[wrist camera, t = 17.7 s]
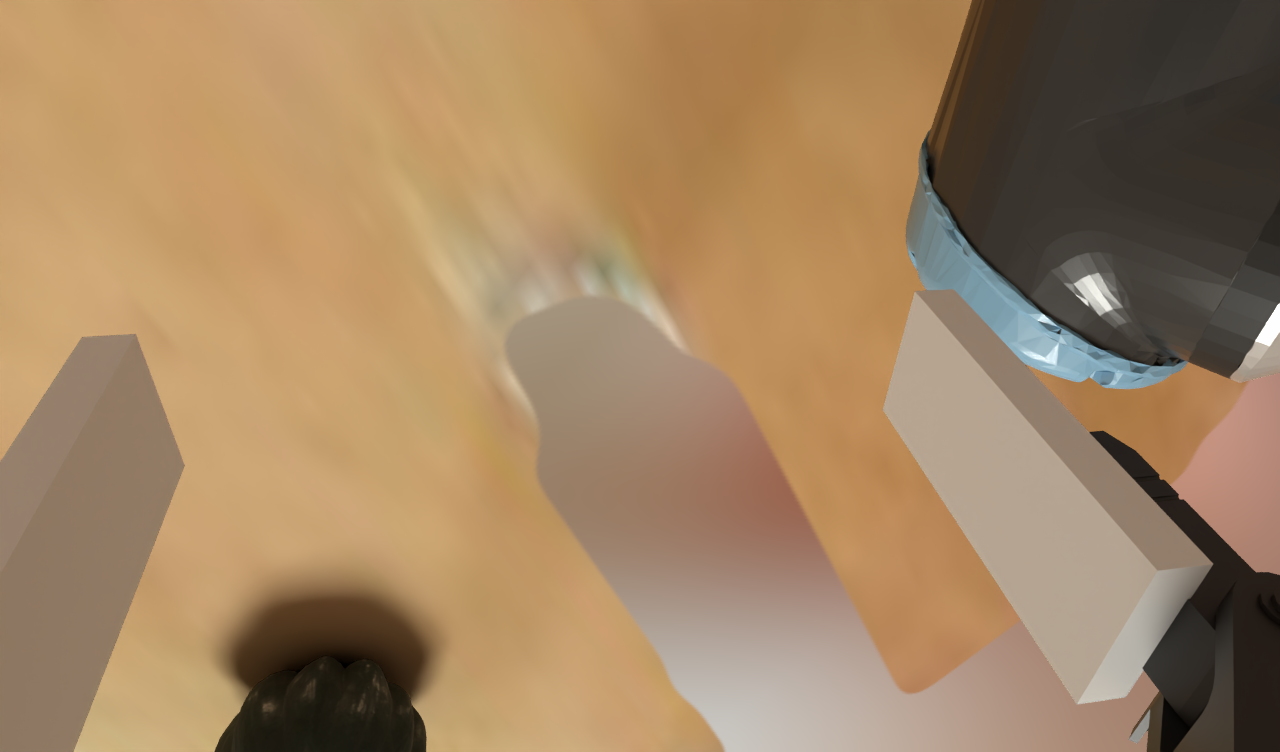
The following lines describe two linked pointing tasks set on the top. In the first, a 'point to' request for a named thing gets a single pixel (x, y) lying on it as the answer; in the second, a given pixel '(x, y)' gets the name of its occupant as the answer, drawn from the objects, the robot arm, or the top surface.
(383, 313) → the top surface
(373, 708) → the squash
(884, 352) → the top surface
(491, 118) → the top surface
